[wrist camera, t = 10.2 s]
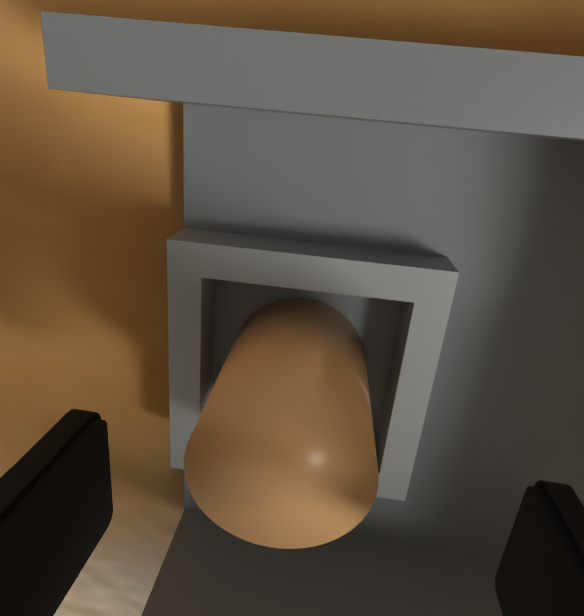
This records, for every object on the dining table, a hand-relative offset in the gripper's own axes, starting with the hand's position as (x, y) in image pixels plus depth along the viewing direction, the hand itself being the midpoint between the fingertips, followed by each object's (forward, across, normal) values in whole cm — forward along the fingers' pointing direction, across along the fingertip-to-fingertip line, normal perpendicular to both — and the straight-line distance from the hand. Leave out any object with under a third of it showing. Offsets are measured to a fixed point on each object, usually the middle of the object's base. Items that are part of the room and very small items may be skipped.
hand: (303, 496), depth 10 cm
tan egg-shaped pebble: (+6, +1, 0) cm, 6 cm away
